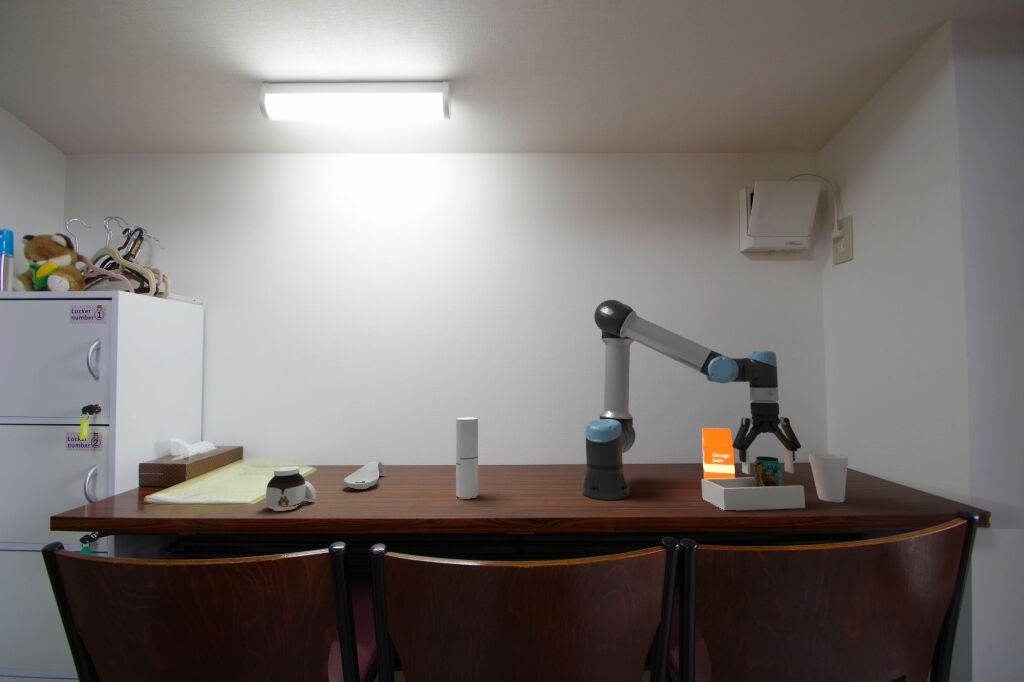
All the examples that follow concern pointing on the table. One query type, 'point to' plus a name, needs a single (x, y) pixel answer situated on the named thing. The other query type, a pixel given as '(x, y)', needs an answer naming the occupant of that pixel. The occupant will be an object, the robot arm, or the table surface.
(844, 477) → the foam cup
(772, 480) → the beverage can
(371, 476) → the spoon rest
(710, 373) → the robot arm
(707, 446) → the orange juice
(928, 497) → the table surface
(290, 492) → the spread jar
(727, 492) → the grey shallow open box
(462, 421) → the cylindrical container
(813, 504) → the table surface
